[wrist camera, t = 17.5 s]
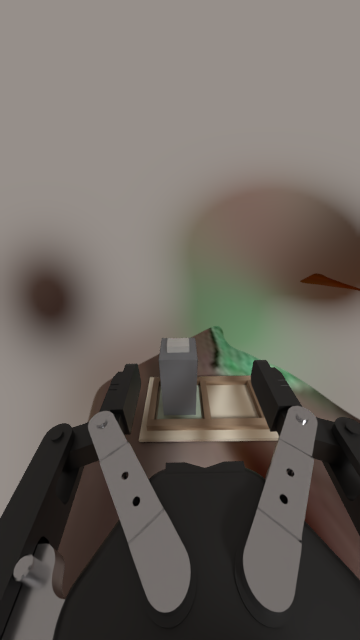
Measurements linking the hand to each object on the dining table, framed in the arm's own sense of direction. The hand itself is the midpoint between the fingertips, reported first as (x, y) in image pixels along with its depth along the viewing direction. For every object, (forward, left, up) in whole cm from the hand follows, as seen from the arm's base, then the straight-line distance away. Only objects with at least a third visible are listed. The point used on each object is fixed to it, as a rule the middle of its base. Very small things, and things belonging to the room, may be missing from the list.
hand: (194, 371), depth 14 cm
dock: (-3, -12, -19) cm, 23 cm away
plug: (+1, -12, -18) cm, 22 cm away
